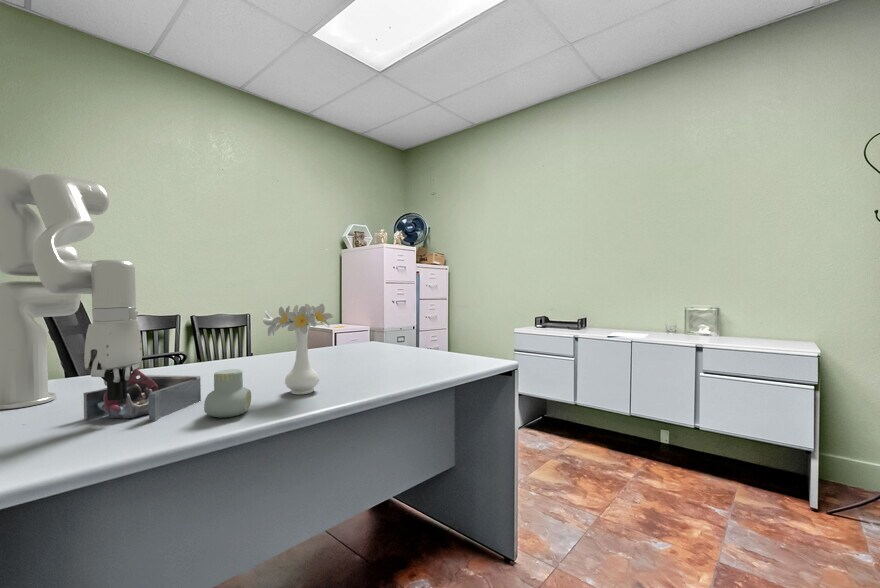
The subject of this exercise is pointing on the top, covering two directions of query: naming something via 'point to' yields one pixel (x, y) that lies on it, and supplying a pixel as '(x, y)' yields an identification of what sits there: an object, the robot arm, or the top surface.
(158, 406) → the bracket
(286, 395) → the top surface
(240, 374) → the grey rounded piece
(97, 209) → the robot arm
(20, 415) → the top surface
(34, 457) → the top surface
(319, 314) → the flower vase
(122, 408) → the red and grey figure
